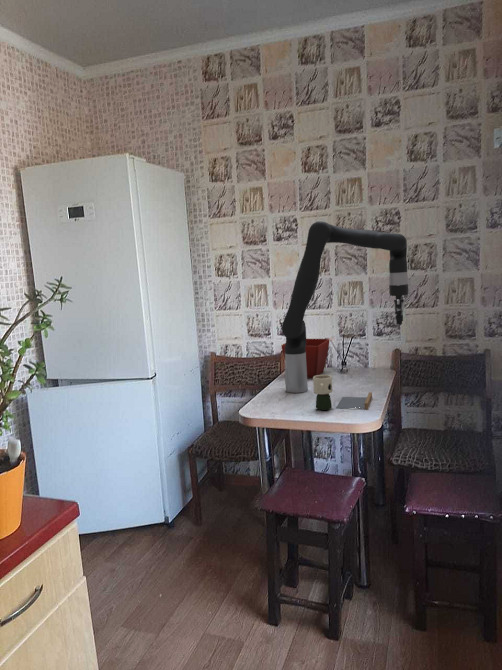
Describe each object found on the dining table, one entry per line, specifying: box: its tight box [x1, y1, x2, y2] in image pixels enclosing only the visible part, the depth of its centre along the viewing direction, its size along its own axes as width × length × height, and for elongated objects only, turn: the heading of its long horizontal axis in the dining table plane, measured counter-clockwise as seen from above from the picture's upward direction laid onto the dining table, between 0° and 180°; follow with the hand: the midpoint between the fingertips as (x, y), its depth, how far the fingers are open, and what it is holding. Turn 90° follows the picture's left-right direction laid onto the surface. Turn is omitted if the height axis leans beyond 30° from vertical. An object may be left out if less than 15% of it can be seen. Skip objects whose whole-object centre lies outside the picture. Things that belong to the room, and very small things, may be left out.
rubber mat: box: [335, 391, 373, 410], centre depth 214 cm, size 12×16×2 cm
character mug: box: [312, 374, 333, 411], centre depth 208 cm, size 11×7×13 cm, turn 169°
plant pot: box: [281, 338, 330, 379], centre depth 267 cm, size 19×19×17 cm
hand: (399, 323), depth 221 cm, fingers open, 8 cm apart
